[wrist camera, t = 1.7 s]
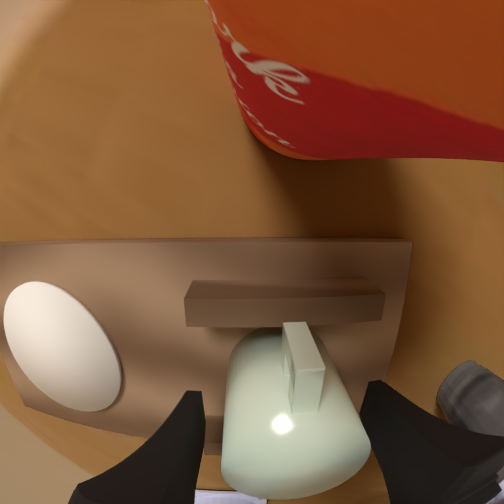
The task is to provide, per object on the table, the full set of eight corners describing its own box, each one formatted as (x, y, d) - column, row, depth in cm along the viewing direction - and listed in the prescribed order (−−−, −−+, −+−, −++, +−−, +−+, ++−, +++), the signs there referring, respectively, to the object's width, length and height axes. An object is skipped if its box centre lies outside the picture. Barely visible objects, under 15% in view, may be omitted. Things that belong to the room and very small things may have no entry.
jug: (321, 399, 15) (351, 489, 8) (229, 404, 14) (225, 501, 8) (337, 288, 13) (403, 367, 7) (224, 290, 13) (210, 383, 7)
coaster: (136, 418, 15) (135, 422, 14) (32, 392, 14) (29, 395, 14) (104, 284, 13) (100, 286, 12) (-6, 277, 12) (-10, 279, 12)
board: (363, 422, 17) (377, 453, 13) (30, 399, 16) (12, 421, 13) (403, 238, 14) (438, 252, 11) (-17, 243, 13) (-48, 254, 10)
